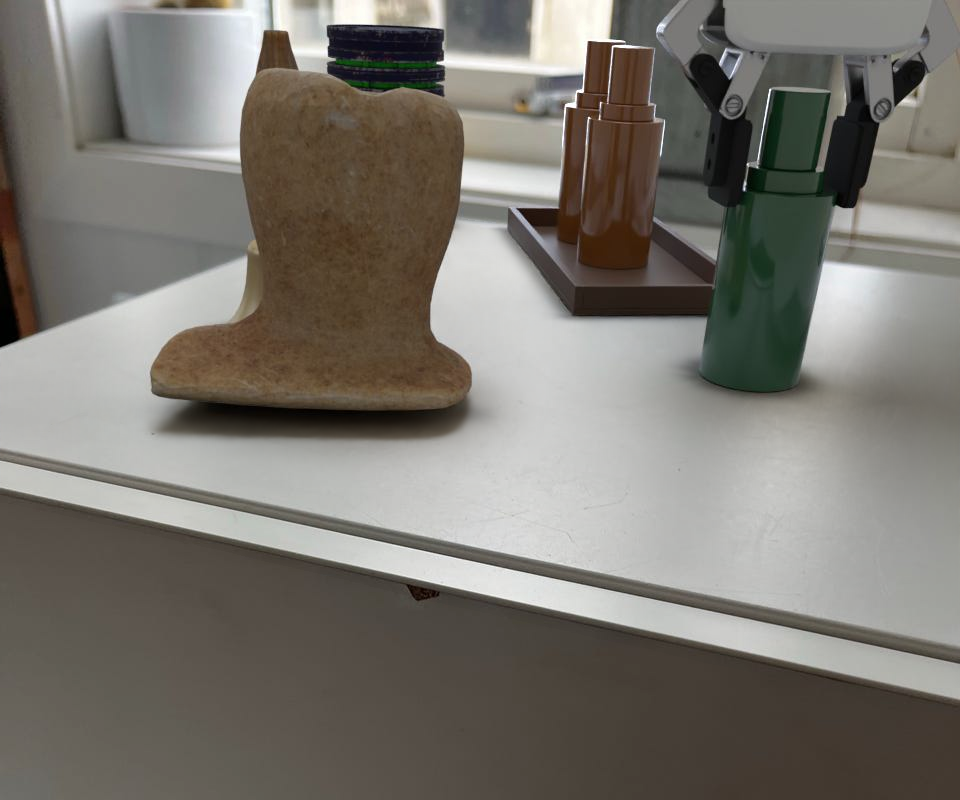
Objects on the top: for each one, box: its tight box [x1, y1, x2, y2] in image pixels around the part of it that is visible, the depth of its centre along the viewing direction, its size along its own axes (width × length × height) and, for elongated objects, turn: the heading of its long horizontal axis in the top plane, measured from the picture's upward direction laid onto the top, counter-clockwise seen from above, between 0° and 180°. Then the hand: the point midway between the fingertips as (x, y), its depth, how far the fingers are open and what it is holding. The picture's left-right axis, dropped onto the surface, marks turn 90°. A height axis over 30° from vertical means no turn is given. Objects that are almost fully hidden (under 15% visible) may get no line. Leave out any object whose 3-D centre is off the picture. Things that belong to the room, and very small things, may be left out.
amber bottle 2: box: [576, 45, 666, 270], centre depth 75 cm, size 6×6×14 cm
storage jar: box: [326, 23, 446, 98], centre depth 87 cm, size 10×10×15 cm
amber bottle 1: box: [556, 38, 626, 245], centre depth 82 cm, size 6×6×14 cm
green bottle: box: [699, 86, 838, 393], centre depth 54 cm, size 6×6×14 cm
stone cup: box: [149, 68, 473, 412], centre depth 49 cm, size 15×12×15 cm
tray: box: [506, 206, 716, 316], centre depth 79 cm, size 12×27×2 cm, turn 8°
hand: (780, 199), depth 53 cm, fingers closed on green bottle, 5 cm apart
